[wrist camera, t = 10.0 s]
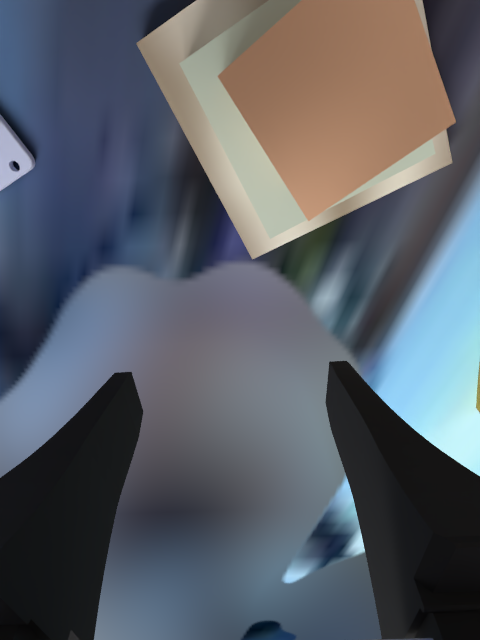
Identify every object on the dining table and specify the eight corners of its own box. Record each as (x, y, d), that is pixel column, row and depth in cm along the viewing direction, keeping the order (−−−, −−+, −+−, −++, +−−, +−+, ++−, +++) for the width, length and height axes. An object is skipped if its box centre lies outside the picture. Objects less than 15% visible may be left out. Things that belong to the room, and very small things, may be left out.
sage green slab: (267, 225, 19) (270, 238, 18) (185, 66, 15) (179, 63, 14) (416, 147, 17) (435, 154, 16) (364, -59, 13) (382, -80, 12)
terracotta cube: (289, 187, 16) (308, 221, 12) (222, 80, 14) (217, 76, 10) (392, 113, 15) (456, 122, 10) (335, -21, 12) (387, -78, 8)
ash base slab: (251, 246, 22) (252, 259, 20) (146, 47, 17) (136, 43, 15) (433, 156, 19) (452, 162, 18) (377, -115, 14) (396, -143, 12)
